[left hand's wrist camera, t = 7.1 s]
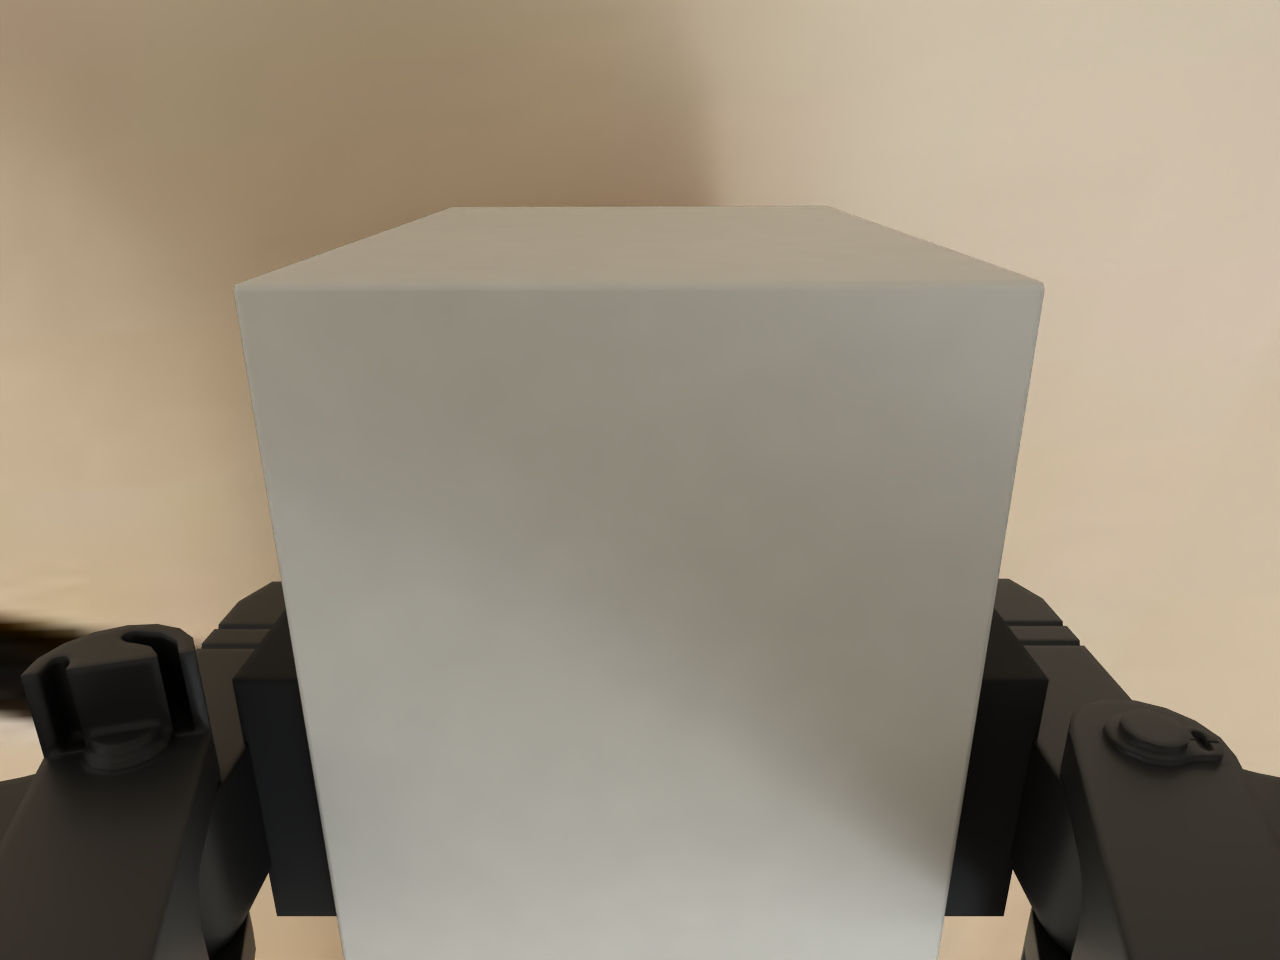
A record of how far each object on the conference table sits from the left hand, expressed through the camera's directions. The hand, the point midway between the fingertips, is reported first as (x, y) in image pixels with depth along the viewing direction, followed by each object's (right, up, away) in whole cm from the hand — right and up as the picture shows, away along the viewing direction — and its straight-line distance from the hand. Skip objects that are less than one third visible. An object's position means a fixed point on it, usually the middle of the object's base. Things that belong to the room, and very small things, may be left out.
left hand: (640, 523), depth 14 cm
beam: (0, -34, +14) cm, 37 cm away
